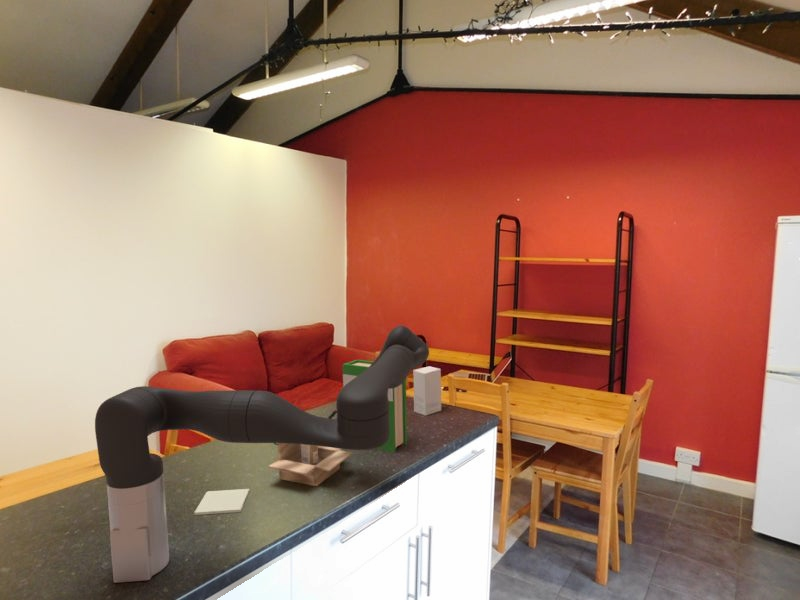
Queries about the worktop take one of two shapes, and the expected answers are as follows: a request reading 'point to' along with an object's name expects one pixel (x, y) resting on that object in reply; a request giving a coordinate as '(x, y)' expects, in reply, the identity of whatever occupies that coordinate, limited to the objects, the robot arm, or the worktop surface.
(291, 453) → the carton
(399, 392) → the hardback book
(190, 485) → the worktop surface
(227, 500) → the coaster
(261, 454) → the worktop surface
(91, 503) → the worktop surface
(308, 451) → the sprinkles bottle
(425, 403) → the skincare box
